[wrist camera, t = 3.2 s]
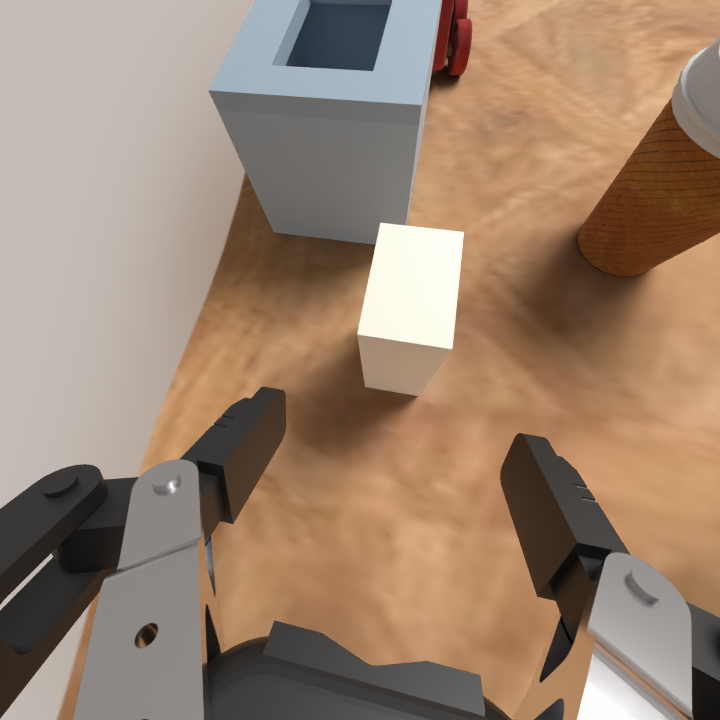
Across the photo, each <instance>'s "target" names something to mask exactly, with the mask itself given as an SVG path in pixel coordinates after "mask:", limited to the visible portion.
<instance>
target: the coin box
mask: <svg viewBox="0 0 720 720" xmlns="http://www.w3.org/2000/svg"><path fill="white" fill-rule="evenodd" d="M441 5H442V0H255V3H254V4H253V6H252V8H251V10H250V12H249V14H248V16H247V18H246V20H245V21H244V23H243V25H242V28H241V29H240V31H239V33H238V35H237V37H236V39H235V41H234V43H233V45H232V46H231V48H230V50H229V52H228V54H227V56H226V58H225V60H224V62H223V64H222V66H221V68H220V69H219V72H218V73H217V75H216V77H215V79H214V81H213V83H212V85H211V87H210V89H209V92H210V95H211V97H212V99H213V101H214V103H215V106H216V108H217V110H218V112H219V114H220V116H221V118H222V121H223V123H224V125H225V127H226V130H227V132H228V134H229V136H230V138H231V140H232V142H233V144H234V147H235V149H236V151H237V153H238V156H239V158H240V160H241V162H242V164H243V167H244V169H245V171H246V173H247V176H248V178H249V180H250V182H251V184H252V186H253V189H254V191H255V193H256V195H257V197H258V200H259V202H260V204H261V206H262V208H263V211H264V213H265V215H266V217H267V219H268V221H269V224H270V226H271V228H272V230H273V232H274V233H282V234H290V235H298V236H306V237H314V238H323V239H331V240H339V241H347V242H355V243H364V244H372V245H376V242H377V237H378V232H379V227H380V223H387V224H396V225H405V226H407V221H408V215H409V210H410V204H411V198H412V192H413V187H414V181H415V175H416V169H417V164H418V158H419V152H420V146H421V141H422V135H423V128H424V121H425V114H426V107H427V101H428V94H429V87H430V80H431V73H432V67H433V60H434V53H435V46H436V39H437V32H438V26H439V19H440V12H441Z"/></svg>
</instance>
